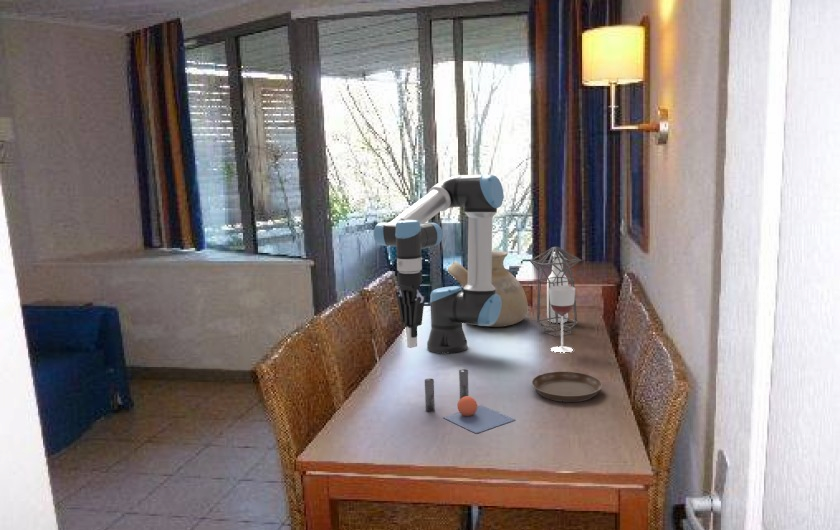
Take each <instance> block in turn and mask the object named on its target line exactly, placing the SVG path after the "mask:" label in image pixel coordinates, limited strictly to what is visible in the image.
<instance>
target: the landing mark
mask: <svg viewBox="0 0 840 530" xmlns="http://www.w3.org/2000/svg"><path fill="white" fill-rule="evenodd" d="M443 419H445V420H446V421H448V422H451V423H452V424H455V425H457V426H458V427H461V428H463V429H466V430H467V431H469V432H471V433H473V434H475V435H477V434H479V433H483V432H485V431H489V430H492V429H494V428H496V427H497V428H498V427H500V426H503V425H505V424H509V423H511V422H514V421H516V419H515V418H513V417H510V416H508V415H506V414H503V413H501V412H499V411H496V410H494V409H491V408H489V407H487V406H484V405H483V404H482V405H481V404H480V405H477V410H476V412H475V413H474V414H473V415H471V416H464V415H462V414H461V413H460V412H459V411H458V412H455V413H452V414H449V415H446V416H443Z"/></svg>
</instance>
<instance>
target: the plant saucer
mask: <svg viewBox="0 0 840 530" xmlns="http://www.w3.org/2000/svg"><path fill="white" fill-rule="evenodd" d="M531 385H532V387H533V389H535V391H536V392H537V393H538V394H539V395H541V396H543V397H544V398H546V399H548V400H552V401H556V402H562V401H563V403H577V402H583V401H587V400H590V399H592V398H594V397H595V396H596V395H597V394H598V393H599V392H600V391H601V389H602V388H603V384H602V381H600V379H598V378H596V377H595V376H593V375H590V374H586V373H581V372H576V371H575V372H574V371H553V372H552V371H549V372H546V373H542V374H539V375H536V376H535V377H534V378H533V379H532V381H531Z"/></svg>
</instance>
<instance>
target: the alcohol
mask: <svg viewBox="0 0 840 530" xmlns="http://www.w3.org/2000/svg"><path fill="white" fill-rule="evenodd" d="M561 255H562V254H561ZM558 256H559V255H558ZM562 256H563V255H562ZM553 257H557V256H556V255H555V251H554V253H553V256H552V258H553ZM559 257H560V256H559ZM559 259H560V262H561V263H563V260H562V259H561V258H559ZM553 260H554V259H552V262H553ZM553 263H559V260H558V258H557V259H556V260H555V262H553ZM563 265H564V264H562V268H563V269H564V267H563ZM555 266H557V267H558V268H559V269H560V270H561V271H562V268H561V266H560V264H555ZM551 269H552V270H553V271H554V272H553V271H552V270H551V273H550V274H549V275H548V276H547V277H548V278H550V279H549V280H550V282H553V281H554V279H555V278H551V277H556V275H558V274H559V275H558V277H562V275H563V273H564V271H563V272H560V271H559V270H558V269H557V268H556V267H554V266H553V265H551ZM559 272H560V273H559ZM554 273H555V274H556V275H555V274H554ZM563 277H566V278H568V277H567V276H566V274H564V276H563ZM566 278H562V281H569V279H566ZM546 280H547V281H546V319H548V318H549V283H547V282H549V281H548V279H546ZM555 282H557V278H556V279H555V281H554V284H555V286H557V283H555ZM558 282H561V278H558ZM562 283H563V286H569V282H562ZM552 286H553V284H550V287H552ZM558 286H561V283H558ZM564 316H565V318H569V312H568V313H567V314H565V315H564ZM553 317H555V311H554V310H553V309H552V307H551V304H550V318H553ZM558 317H561V315H559V314H558ZM550 320H551V322H552V323H551V324H555V323H556V318H555V319H550ZM548 321H549V320H547V322H548ZM565 322H566V323H567V322H568V320H567V319H564V320H563V324H566V323H565ZM558 323H561V318H558Z"/></svg>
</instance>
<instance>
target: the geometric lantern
mask: <svg viewBox="0 0 840 530" xmlns="http://www.w3.org/2000/svg"><path fill="white" fill-rule="evenodd" d="M554 252H555V255H556V256H557V257H553V253H554ZM561 254H562V255H561ZM543 255H544V256H543ZM558 255H559V256H560V257H559V256H558ZM541 256H543V257H542V258H541V259H538V258H539V257H541ZM549 256H550V257H549ZM548 257H549V260H547V259H548ZM557 258H558V260H559V263H553V262H555V260H556V259H557ZM559 258H561V259H562V263H561V262H560V259H559ZM553 259H554V260H553ZM582 261H583V259H581V258H579V257H578V256H575V254H572V253H570V252H568V251H566V250H565V249H562V248H561V247H560V246H552V247H551V248H549V249H547V250H545V251H544V252H542V253H541V254H539V255H537V256H535V257H533V258H532V259H531V260H530V264H532V266H533V267H534V268H535V269H536V270H537V271H538V277H537V300H536V301H537V306H536V307H537V308H536V309H537V311H536V323H537V324H539V325H540V326H541V327H543V330H544V334H547V335H551V336H554V337H561V334H559V332H561V330H558V329H561V323H560V324H558V318H561V317H558V313H556V312H555V317H553V318H550V295H549V318H548V319H547V318H543V319H540V318H541V317H540V315H541V311H540V310H541V290H542V289H541V288H542V287H541V286H542V283H543V282H544V283H546V284H547V283H549V288H550V284H553V286H555V284H554V281H555V279H556V278H557V282H555V283H557V286H558V283H561V286H563V283H562V282H568V283H569V282H570V285H571V286H572V287H575V278H573V273H572V269H573V268H574V266H575V265H577V264H578V263H579V262H582ZM555 264H560V266H561V268H562V264H563V265H565V266H566V268H565V269H564V267H563V268H562V271H561V270H560V269H559V268H558V267H557V266H555ZM571 264H572V265H571ZM536 265H537V266H536ZM552 265H553V266H554V267H556V268H557V269H558V270H559V271H560V272H563V275H562V277H558V275H559V274H558V275H556V274H555V273H554V274H555V275H556V277H551V278H555V279H554V281H553V282H550V280H549V279H550V278H548V277H549V276H548V275H547V273H546V271H545V269H546V268H549V269H551V272H552V271H553V270H552ZM567 271H568V274H569V276H570V277H567V276H566V277H567V278H566V277H563V276H564V275H566V272H567ZM540 272H541V274H540ZM553 272H554V271H553ZM560 272H559V273H560ZM543 274H544V276H545V278H542V277H543ZM558 278H561V282H558ZM562 278H566V279H567V280H568V281H562ZM547 279H548V281H549V282H547V281H546V280H547ZM577 312H578V311H577V301H576V299H575V300H574V305H573V314H574V319H572V318H569V317H568V318H565V316H563V320H564V319H567V321H572V322H571V323H563V330H564V331H563V332H566V331H567V333H563V336H567V335H571V334H572V328H574V327H575V326H576V325H577V324H578V315H577ZM555 318H556V324H552V323H551V320H550V319H555ZM548 320H549V322H548V324H546V323H545V321H548ZM543 321H544V323H543ZM551 324H552V325H551ZM564 327H565V328H564ZM568 330H569V331H568ZM551 331H552V332H554V334H553V333H550V332H551ZM556 332H557V333H556Z"/></svg>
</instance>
